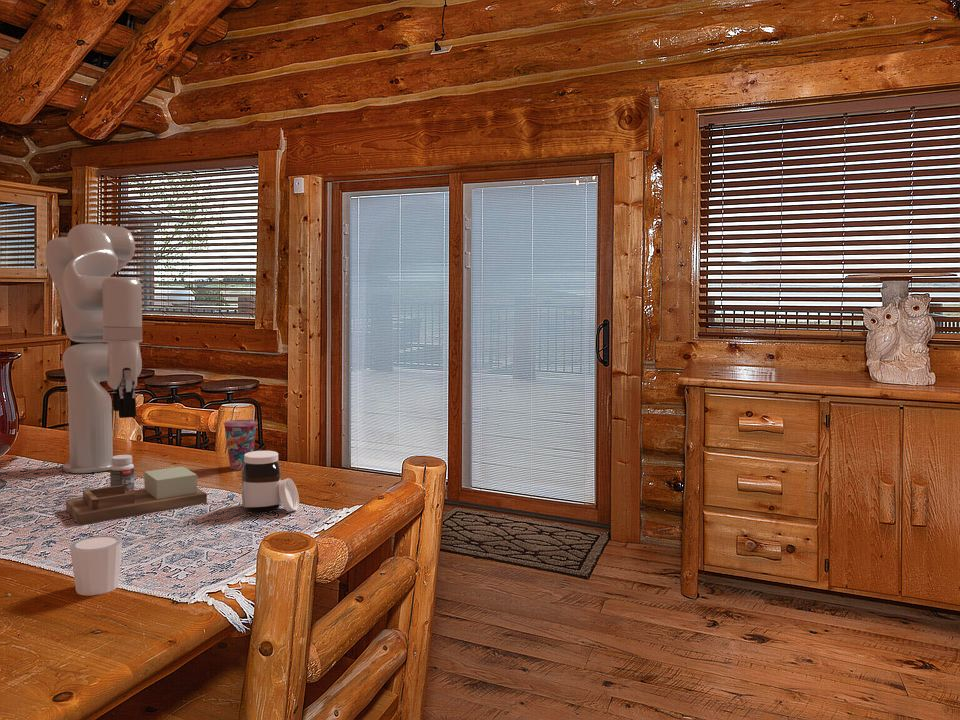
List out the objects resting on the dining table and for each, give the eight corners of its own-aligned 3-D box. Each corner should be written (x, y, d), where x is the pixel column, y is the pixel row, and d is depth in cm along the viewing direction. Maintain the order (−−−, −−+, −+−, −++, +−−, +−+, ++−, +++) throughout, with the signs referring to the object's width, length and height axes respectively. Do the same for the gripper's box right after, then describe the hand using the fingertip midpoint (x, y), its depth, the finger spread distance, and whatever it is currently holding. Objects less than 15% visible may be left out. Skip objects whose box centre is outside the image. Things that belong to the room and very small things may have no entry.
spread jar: (240, 503, 146) (240, 450, 145) (294, 498, 150) (294, 446, 149) (244, 520, 135) (244, 462, 134) (302, 514, 139) (302, 458, 138)
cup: (216, 469, 174) (215, 423, 173) (239, 462, 181) (239, 418, 180) (245, 473, 170) (244, 426, 169) (267, 466, 178) (267, 421, 177)
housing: (66, 509, 138) (65, 490, 138) (187, 490, 154) (187, 473, 154) (79, 525, 129) (78, 504, 129) (206, 502, 145) (206, 484, 145)
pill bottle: (124, 497, 148) (123, 459, 147) (105, 495, 149) (104, 458, 148) (139, 491, 153) (138, 455, 152) (121, 489, 154) (120, 453, 153)
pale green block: (144, 489, 147) (144, 471, 146) (182, 483, 152) (182, 466, 152) (157, 499, 140) (157, 480, 140) (197, 492, 145) (196, 474, 145)
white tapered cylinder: (109, 574, 107) (108, 531, 106) (132, 585, 103) (131, 541, 102) (62, 589, 101) (61, 543, 101) (85, 601, 97) (83, 554, 97)
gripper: (98, 333, 151) (100, 409, 152) (107, 337, 136) (109, 421, 138) (136, 333, 155) (137, 407, 156) (148, 337, 141) (149, 418, 142)
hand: (124, 413), depth 147 cm, fingers open, 9 cm apart
